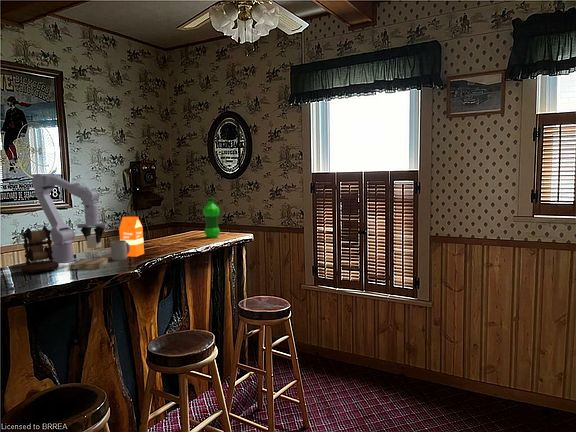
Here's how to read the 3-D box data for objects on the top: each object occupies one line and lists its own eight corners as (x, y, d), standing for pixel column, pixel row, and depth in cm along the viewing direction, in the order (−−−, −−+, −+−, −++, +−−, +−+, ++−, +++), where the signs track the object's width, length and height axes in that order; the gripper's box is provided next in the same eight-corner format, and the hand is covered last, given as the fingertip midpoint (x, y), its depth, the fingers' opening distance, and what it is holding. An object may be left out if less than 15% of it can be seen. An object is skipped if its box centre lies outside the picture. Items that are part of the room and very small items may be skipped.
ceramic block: (87, 247, 205) (86, 236, 204) (92, 246, 209) (92, 235, 209) (96, 247, 204) (95, 236, 204) (101, 246, 209) (100, 235, 208)
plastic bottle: (201, 238, 268) (199, 198, 265) (209, 235, 278) (207, 197, 275) (215, 238, 265) (214, 198, 262) (223, 236, 275) (221, 197, 272)
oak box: (71, 271, 191) (71, 264, 191) (81, 265, 203) (81, 259, 203) (99, 269, 193) (99, 263, 192) (107, 263, 205) (107, 257, 204)
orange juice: (136, 256, 218) (133, 217, 215) (120, 256, 219) (118, 217, 217) (144, 253, 225) (142, 215, 223) (129, 253, 227) (126, 215, 225)
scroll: (51, 265, 202) (47, 223, 199) (64, 270, 192) (61, 226, 190) (16, 272, 190) (11, 227, 188) (28, 277, 181) (24, 230, 179)
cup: (108, 259, 211) (107, 242, 210) (125, 256, 220) (124, 238, 219) (117, 261, 208) (116, 243, 207) (134, 257, 216) (133, 239, 215)
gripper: (72, 216, 202) (74, 244, 203) (100, 215, 200) (103, 244, 201) (81, 214, 209) (83, 241, 210) (109, 213, 207) (111, 241, 208)
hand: (93, 242), depth 206 cm, fingers closed on ceramic block, 4 cm apart
